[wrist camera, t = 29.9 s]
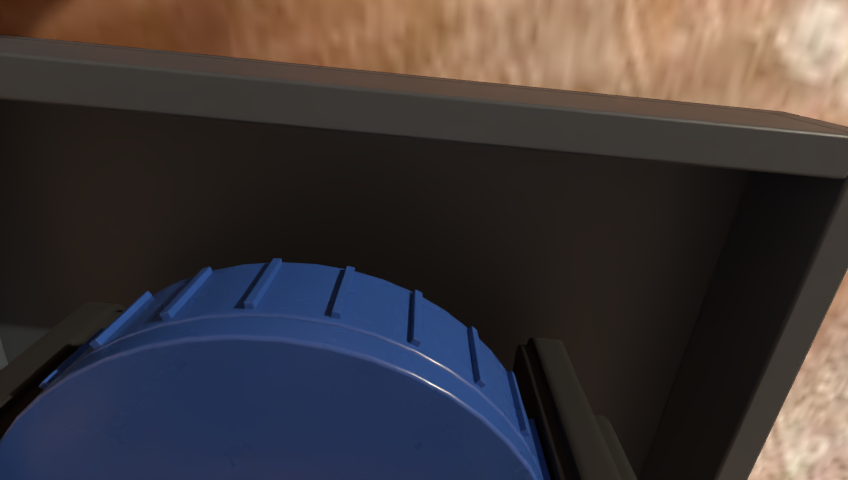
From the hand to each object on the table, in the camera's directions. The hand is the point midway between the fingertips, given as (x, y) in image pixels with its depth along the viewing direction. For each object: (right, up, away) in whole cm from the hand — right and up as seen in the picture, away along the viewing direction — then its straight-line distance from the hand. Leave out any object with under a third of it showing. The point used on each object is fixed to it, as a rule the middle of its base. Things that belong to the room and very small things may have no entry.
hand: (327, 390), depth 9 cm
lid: (0, -1, -3) cm, 3 cm away
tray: (0, +1, +2) cm, 2 cm away
